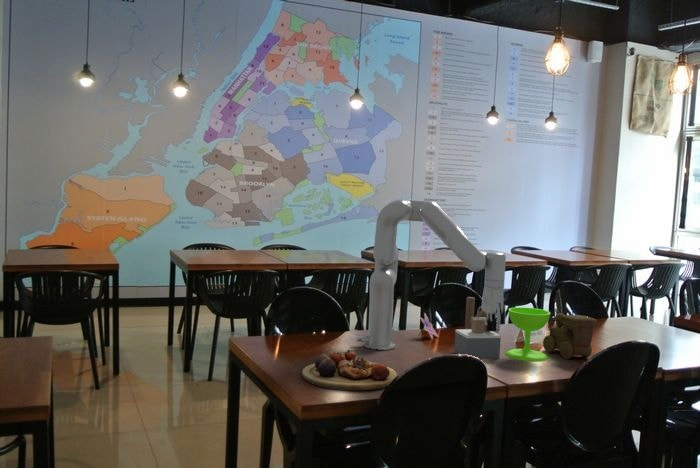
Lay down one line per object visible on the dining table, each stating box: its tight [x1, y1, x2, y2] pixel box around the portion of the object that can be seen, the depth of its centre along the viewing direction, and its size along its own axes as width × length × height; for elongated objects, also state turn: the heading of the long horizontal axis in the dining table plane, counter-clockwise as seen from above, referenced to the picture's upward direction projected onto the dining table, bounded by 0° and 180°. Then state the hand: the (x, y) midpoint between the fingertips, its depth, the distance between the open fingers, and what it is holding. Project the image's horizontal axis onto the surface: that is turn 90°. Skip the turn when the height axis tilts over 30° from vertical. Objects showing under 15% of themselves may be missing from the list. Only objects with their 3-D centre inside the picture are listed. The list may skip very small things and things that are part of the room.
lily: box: [417, 312, 439, 340], centre depth 276 cm, size 12×12×10 cm
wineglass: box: [505, 306, 551, 363], centre depth 249 cm, size 16×16×18 cm
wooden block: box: [464, 296, 487, 329], centre depth 279 cm, size 4×11×18 cm, turn 110°
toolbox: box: [454, 316, 501, 360], centre depth 249 cm, size 14×14×13 cm
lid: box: [455, 319, 502, 338], centre depth 247 cm, size 14×11×7 cm
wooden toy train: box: [542, 312, 598, 360], centre depth 254 cm, size 20×11×17 cm, turn 21°
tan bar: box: [470, 316, 488, 331], centre depth 257 cm, size 2×16×2 cm, turn 14°
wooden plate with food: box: [301, 350, 399, 391], centre depth 211 cm, size 32×32×8 cm
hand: (491, 330), depth 247 cm, fingers closed
